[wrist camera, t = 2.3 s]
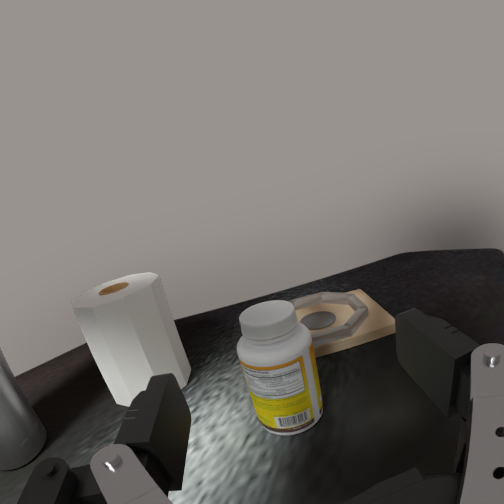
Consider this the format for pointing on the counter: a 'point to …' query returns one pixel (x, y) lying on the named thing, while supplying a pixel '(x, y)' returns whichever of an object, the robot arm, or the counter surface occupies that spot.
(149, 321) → the toilet paper
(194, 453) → the counter surface
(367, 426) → the counter surface
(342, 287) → the counter surface
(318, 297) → the seat plate
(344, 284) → the counter surface
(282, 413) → the supplement bottle
